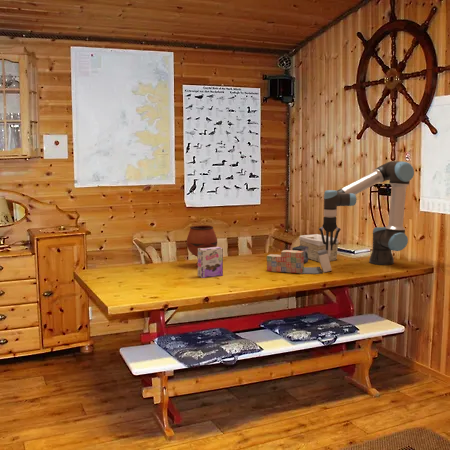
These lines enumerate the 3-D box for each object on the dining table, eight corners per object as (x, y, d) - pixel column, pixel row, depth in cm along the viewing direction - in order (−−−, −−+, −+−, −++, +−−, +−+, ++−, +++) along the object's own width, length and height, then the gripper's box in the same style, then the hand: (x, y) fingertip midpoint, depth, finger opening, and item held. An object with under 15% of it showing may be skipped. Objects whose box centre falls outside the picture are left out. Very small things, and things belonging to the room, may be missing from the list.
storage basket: (339, 260, 376) (339, 238, 374) (318, 263, 369) (319, 240, 367) (317, 254, 398) (318, 233, 396) (298, 256, 390) (298, 235, 388)
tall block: (330, 268, 348) (325, 249, 346) (331, 270, 342) (326, 251, 340) (322, 270, 348) (317, 251, 346) (323, 272, 342) (318, 253, 340)
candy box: (201, 278, 328) (201, 249, 326) (197, 276, 333) (197, 248, 331) (223, 275, 334) (223, 247, 332) (218, 273, 340) (218, 246, 337)
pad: (319, 268, 353) (319, 266, 353) (322, 274, 337) (322, 272, 337) (297, 268, 353) (297, 266, 353) (299, 274, 338) (299, 272, 337)
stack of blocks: (266, 271, 346) (266, 251, 344) (270, 269, 351) (269, 249, 350) (301, 273, 337) (300, 252, 335) (304, 271, 342) (303, 250, 341)
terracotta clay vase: (181, 267, 357) (181, 227, 353) (194, 262, 374) (194, 223, 371) (210, 270, 349) (209, 229, 346) (222, 264, 367) (221, 225, 364)
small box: (300, 265, 363) (300, 248, 362) (291, 263, 367) (291, 247, 366) (308, 262, 371) (308, 246, 370) (299, 261, 375) (300, 245, 374)
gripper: (340, 215, 344) (338, 254, 347) (318, 215, 344) (317, 254, 347) (342, 217, 336) (340, 257, 339) (319, 217, 337) (318, 256, 340)
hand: (328, 255), depth 343 cm, fingers closed
